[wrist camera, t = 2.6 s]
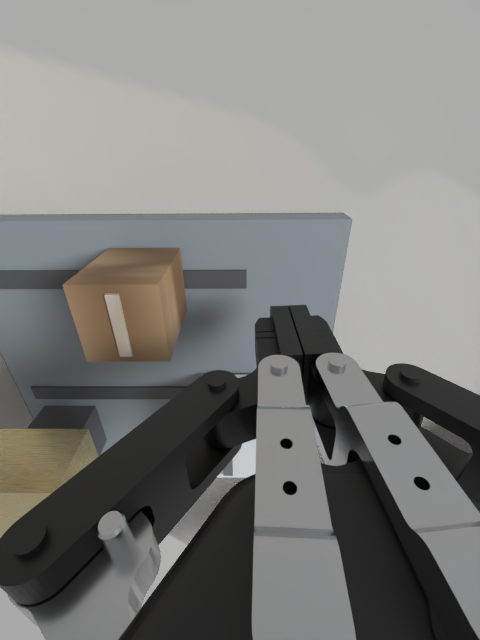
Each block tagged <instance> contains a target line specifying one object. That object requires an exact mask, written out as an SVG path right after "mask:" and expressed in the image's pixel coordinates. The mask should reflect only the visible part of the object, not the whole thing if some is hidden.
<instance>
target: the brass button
mask: <svg viewBox="0 0 480 640" xmlns="http://www.w3.org/2000/svg"><path fill="white" fill-rule="evenodd" d="M97 457H99V456H98V453H97V451H96V448H95V445H94V443H93V440H92V437H91V435H90V432H89V429H0V538H1V537H2V536H3V534H4V533H5V532H6V531H7V530H8V529H9V528H10V527H11V525H13V524H14V523H15V522H16V521H17V520H18V519H20V518H21V517H22V516H23V515H25V514H26V513H27V512H29V511H30V510H31V509H32V508H34V507H35V506H36V505H37V504H39V503H40V502H41V501H43V500H44V499H45V498H46V497H48V496H49V495H50V494H51V493H53V492H54V491H55V490H57V489H58V488H59V487H60V486H62V485H63V484H64V483H65V482H67V481H68V480H69V479H71V478H72V477H73V476H74V475H76V474H77V473H78V472H79V471H81V470H82V469H83V468H85V467H86V466H87V465H88V464H90V463H91V462H92V461H93V460H95V459H96V458H97Z"/></svg>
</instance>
